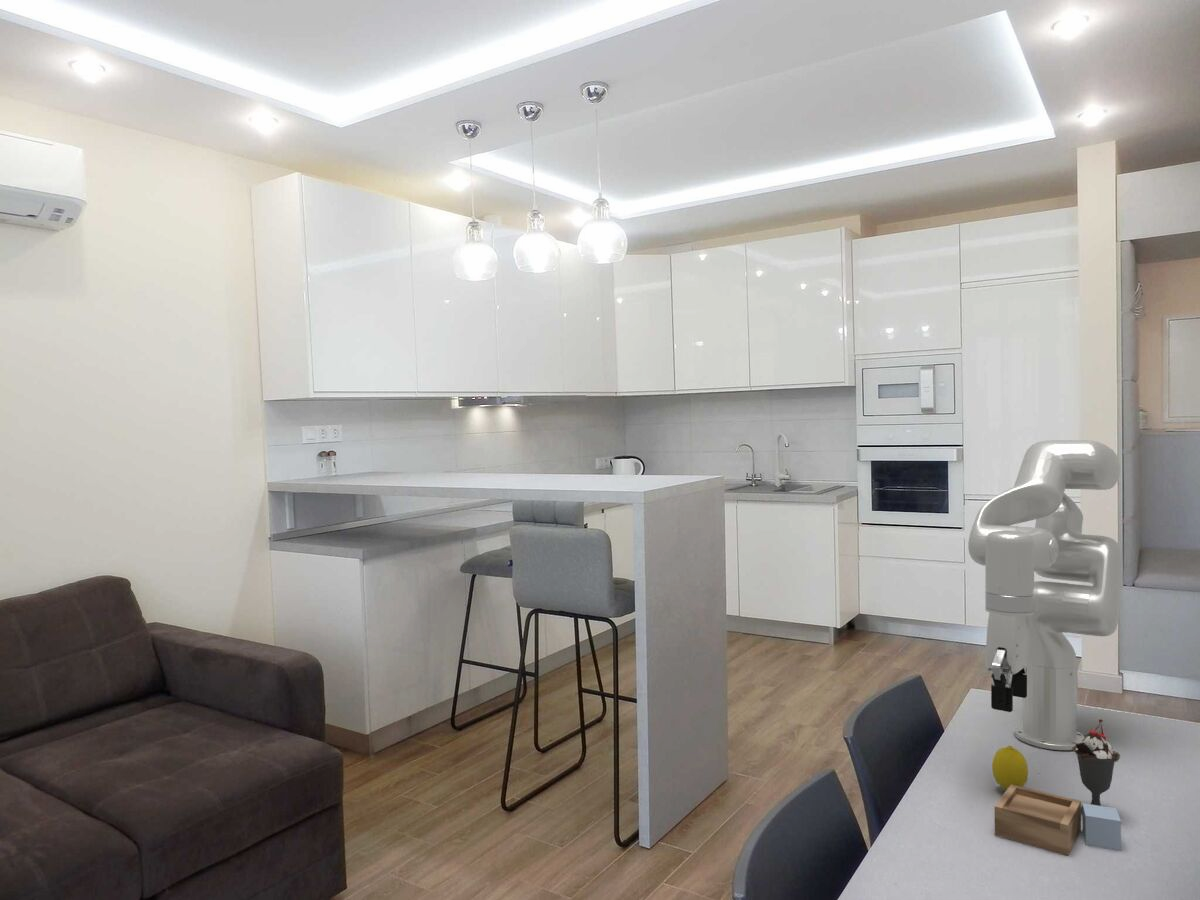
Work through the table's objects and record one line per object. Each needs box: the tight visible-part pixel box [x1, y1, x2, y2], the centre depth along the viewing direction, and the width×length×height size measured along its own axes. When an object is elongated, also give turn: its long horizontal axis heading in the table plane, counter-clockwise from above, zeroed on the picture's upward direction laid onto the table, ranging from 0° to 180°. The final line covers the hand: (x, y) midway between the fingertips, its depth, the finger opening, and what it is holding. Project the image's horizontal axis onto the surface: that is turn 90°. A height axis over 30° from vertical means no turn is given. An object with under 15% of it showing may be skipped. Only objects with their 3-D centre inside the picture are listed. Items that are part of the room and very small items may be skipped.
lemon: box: [991, 745, 1029, 791], centre depth 142 cm, size 6×6×8 cm
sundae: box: [1072, 719, 1121, 815], centre depth 133 cm, size 7×7×15 cm
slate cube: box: [1081, 802, 1122, 852], centre depth 125 cm, size 4×4×4 cm
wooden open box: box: [994, 784, 1082, 857], centre depth 128 cm, size 10×10×4 cm
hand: (1009, 702), depth 141 cm, fingers open, 9 cm apart
